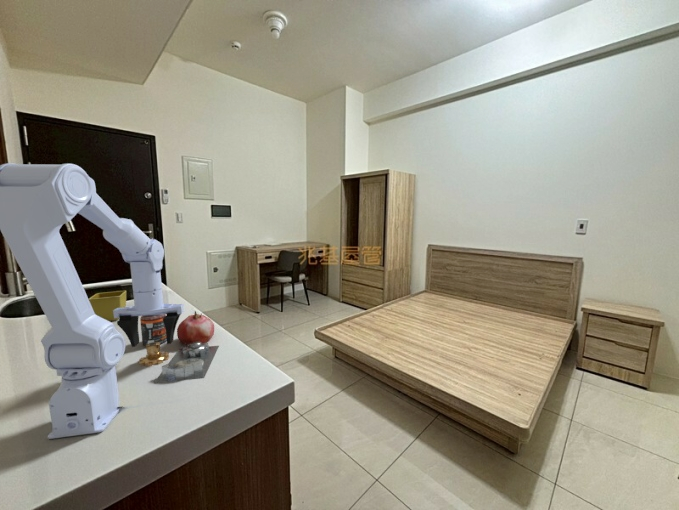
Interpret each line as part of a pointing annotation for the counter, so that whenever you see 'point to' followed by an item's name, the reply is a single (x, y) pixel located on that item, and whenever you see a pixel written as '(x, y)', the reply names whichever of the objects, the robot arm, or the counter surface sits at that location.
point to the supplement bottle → (153, 329)
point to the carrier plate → (181, 361)
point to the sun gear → (195, 349)
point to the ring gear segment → (182, 370)
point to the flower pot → (108, 304)
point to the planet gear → (153, 355)
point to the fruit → (195, 329)
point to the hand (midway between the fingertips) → (153, 343)
